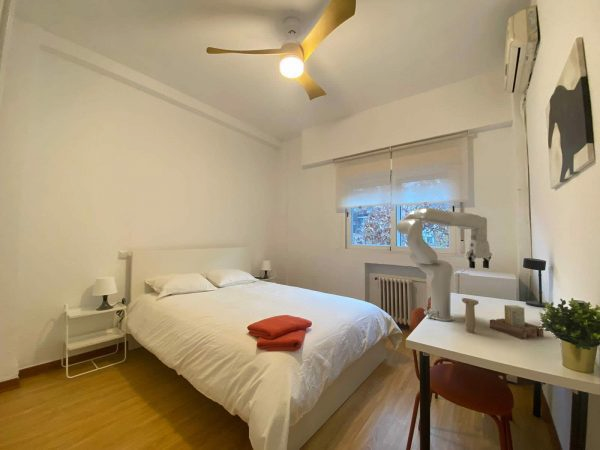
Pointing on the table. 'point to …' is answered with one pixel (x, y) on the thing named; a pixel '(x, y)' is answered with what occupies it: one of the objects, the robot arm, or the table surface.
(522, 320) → the skincare box
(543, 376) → the table surface
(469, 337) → the table surface
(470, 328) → the handle
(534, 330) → the jig
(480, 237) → the robot arm
